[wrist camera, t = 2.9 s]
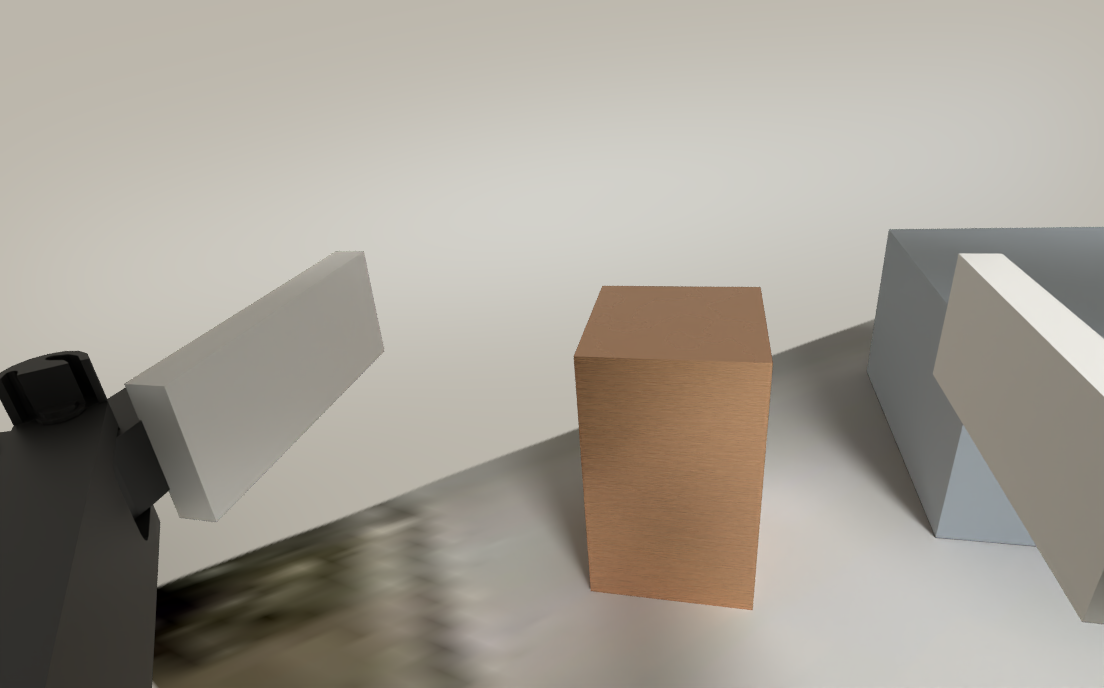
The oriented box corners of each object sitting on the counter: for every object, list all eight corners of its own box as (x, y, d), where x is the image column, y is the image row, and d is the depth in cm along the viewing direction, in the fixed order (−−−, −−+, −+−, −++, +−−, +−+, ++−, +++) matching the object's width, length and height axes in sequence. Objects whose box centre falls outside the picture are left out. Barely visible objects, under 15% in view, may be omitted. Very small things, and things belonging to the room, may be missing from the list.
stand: (1143, 381, 41) (1202, 225, 36) (1365, 575, 27) (1505, 362, 22) (866, 371, 44) (889, 229, 40) (935, 537, 30) (981, 347, 26)
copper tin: (745, 501, 34) (760, 287, 28) (752, 610, 28) (772, 362, 22) (612, 491, 35) (602, 285, 30) (590, 591, 29) (573, 356, 24)
